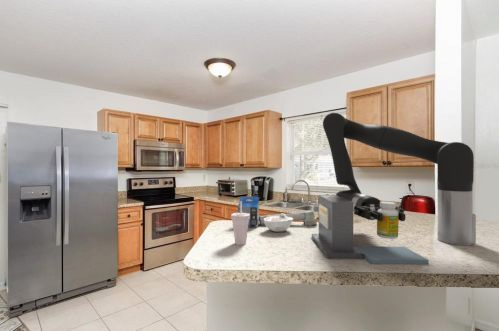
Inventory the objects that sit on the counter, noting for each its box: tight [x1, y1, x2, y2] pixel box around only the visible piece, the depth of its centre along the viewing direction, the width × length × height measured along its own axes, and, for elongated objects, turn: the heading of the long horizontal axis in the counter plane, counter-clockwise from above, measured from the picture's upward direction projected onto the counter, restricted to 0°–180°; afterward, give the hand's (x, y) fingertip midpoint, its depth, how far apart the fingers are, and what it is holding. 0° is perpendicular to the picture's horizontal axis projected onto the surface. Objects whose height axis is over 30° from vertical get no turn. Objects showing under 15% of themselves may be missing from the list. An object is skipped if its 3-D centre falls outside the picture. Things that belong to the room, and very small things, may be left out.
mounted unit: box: [311, 194, 364, 260], centre depth 81 cm, size 10×20×16 cm, turn 179°
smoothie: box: [230, 200, 250, 246], centre depth 86 cm, size 6×6×14 cm
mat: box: [354, 245, 430, 265], centre depth 73 cm, size 15×11×1 cm
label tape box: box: [237, 196, 260, 228], centre depth 110 cm, size 9×4×12 cm, turn 77°
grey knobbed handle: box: [259, 210, 318, 227], centre depth 112 cm, size 5×7×25 cm
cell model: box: [264, 212, 294, 233], centre depth 102 cm, size 10×12×7 cm
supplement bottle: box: [376, 200, 400, 240], centre depth 73 cm, size 5×5×10 cm
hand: (392, 217), depth 71 cm, fingers closed on supplement bottle, 5 cm apart
